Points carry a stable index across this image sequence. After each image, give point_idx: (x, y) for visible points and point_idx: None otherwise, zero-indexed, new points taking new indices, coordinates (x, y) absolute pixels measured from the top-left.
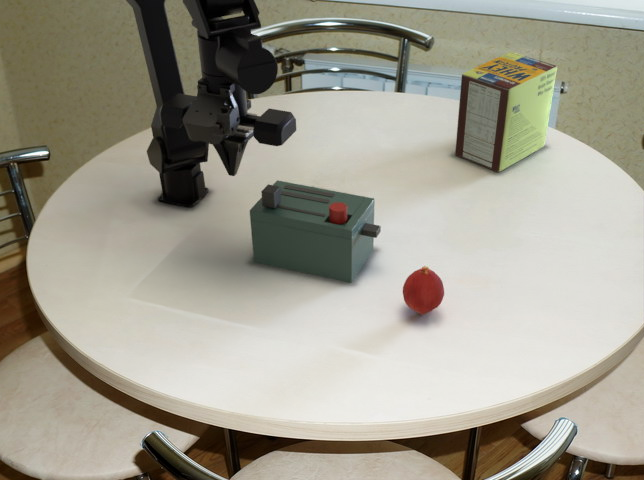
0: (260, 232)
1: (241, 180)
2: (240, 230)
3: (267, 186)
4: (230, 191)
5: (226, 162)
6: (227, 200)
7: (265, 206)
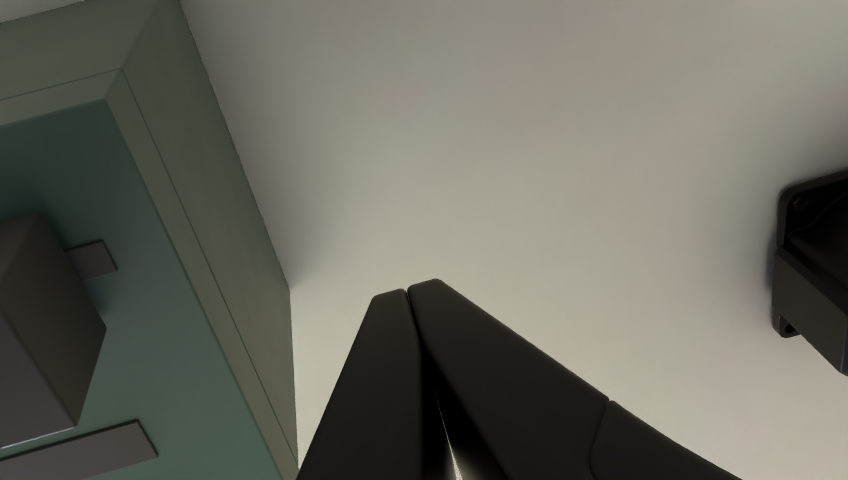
0: (55, 57)
1: None
2: (458, 184)
3: (37, 398)
4: (686, 379)
5: (466, 371)
6: (661, 327)
7: (7, 220)
